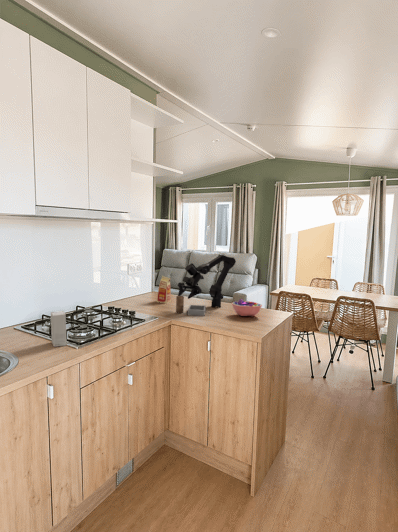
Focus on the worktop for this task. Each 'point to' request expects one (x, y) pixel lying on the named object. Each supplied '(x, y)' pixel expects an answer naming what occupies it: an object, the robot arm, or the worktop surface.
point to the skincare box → (58, 328)
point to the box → (196, 310)
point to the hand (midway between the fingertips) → (183, 297)
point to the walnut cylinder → (179, 304)
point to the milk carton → (164, 290)
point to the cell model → (246, 308)
